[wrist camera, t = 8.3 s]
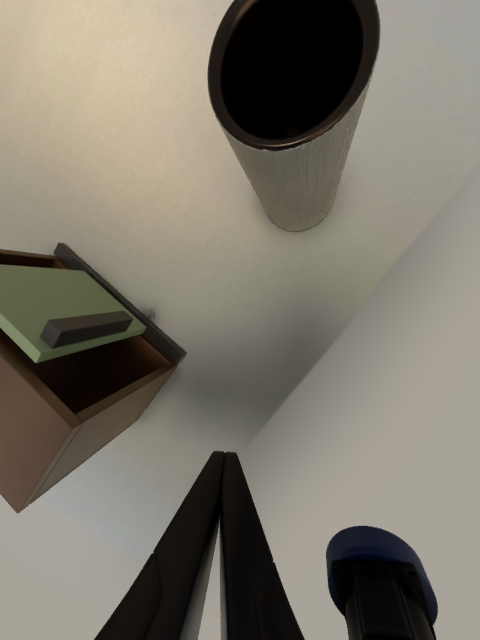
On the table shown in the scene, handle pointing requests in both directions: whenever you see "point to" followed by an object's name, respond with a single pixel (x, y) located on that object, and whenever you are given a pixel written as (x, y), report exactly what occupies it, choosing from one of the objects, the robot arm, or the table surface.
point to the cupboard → (72, 394)
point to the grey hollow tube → (293, 96)
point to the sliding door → (60, 312)
